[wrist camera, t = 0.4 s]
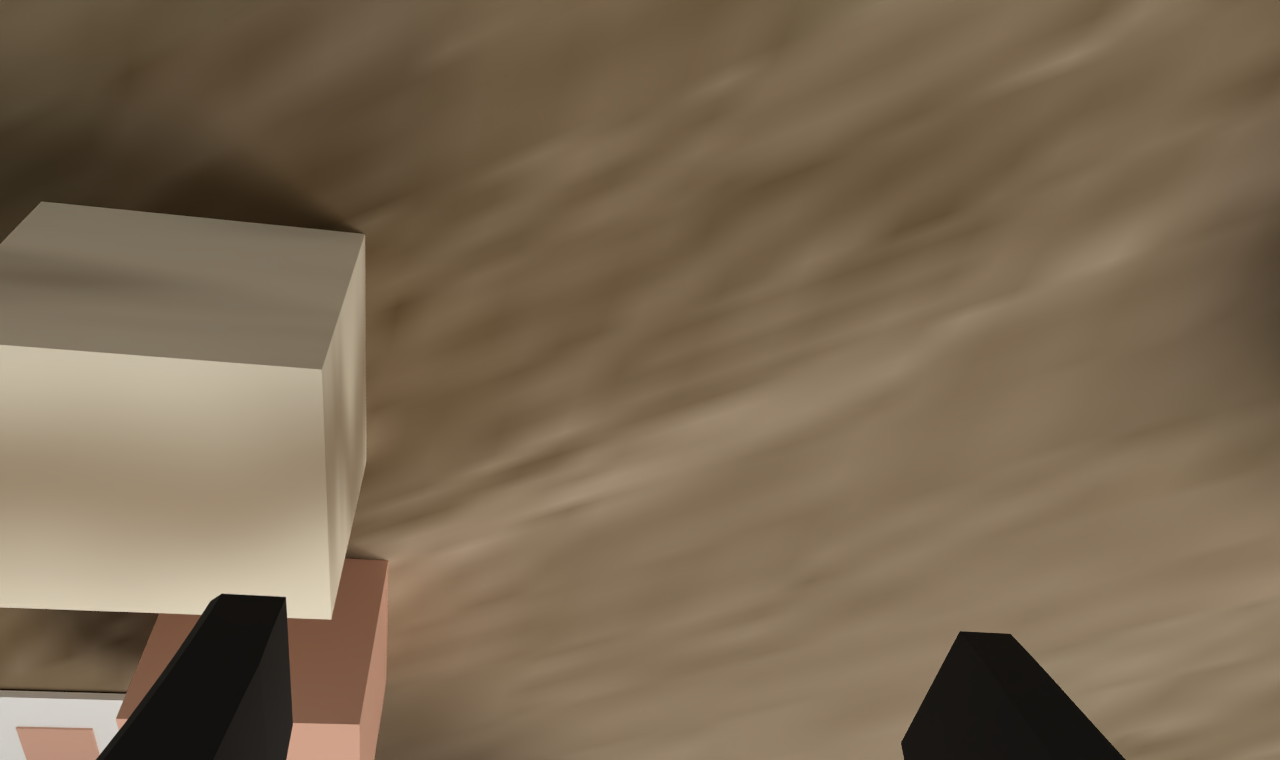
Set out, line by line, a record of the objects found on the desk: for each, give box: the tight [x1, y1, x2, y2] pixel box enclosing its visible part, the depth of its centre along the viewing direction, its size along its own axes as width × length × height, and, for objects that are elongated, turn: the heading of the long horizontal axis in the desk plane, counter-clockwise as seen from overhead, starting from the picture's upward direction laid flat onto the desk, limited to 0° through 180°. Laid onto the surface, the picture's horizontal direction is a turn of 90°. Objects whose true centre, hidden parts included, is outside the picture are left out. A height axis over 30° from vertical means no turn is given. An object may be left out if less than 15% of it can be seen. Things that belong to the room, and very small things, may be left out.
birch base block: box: [0, 201, 366, 620], centre depth 17 cm, size 6×6×4 cm
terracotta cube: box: [116, 558, 388, 760], centre depth 22 cm, size 4×4×4 cm
